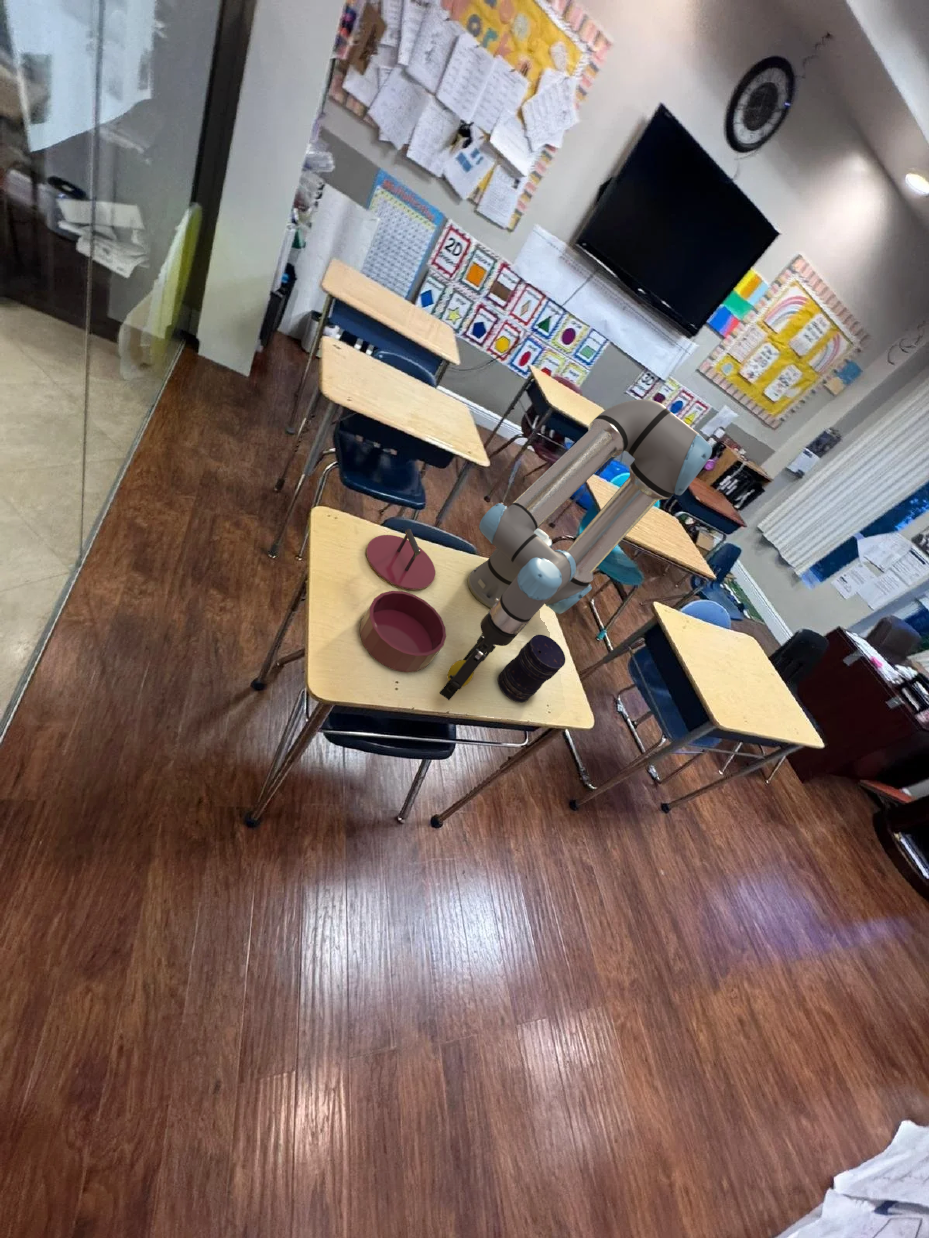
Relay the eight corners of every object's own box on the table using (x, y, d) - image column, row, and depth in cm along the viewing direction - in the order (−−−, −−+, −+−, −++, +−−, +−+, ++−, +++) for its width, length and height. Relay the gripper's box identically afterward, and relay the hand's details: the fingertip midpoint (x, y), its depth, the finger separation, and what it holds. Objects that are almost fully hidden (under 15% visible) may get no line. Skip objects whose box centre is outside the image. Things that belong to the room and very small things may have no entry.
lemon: (460, 697, 118) (477, 678, 113) (439, 686, 117) (455, 666, 112) (464, 680, 122) (481, 660, 117) (444, 669, 121) (460, 649, 116)
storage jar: (519, 667, 134) (552, 633, 125) (537, 699, 130) (572, 666, 120) (490, 671, 128) (523, 635, 119) (508, 705, 123) (543, 670, 114)
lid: (420, 541, 149) (433, 518, 143) (443, 593, 139) (458, 570, 133) (357, 534, 137) (369, 508, 132) (377, 589, 127) (391, 564, 122)
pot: (419, 609, 130) (430, 592, 126) (444, 670, 121) (457, 654, 117) (351, 607, 119) (360, 589, 115) (372, 674, 110) (383, 657, 106)
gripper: (509, 583, 114) (463, 641, 128) (467, 640, 95) (419, 701, 109) (536, 604, 114) (487, 659, 128) (499, 665, 95) (447, 723, 109)
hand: (456, 679), depth 118 cm, fingers open, 12 cm apart
